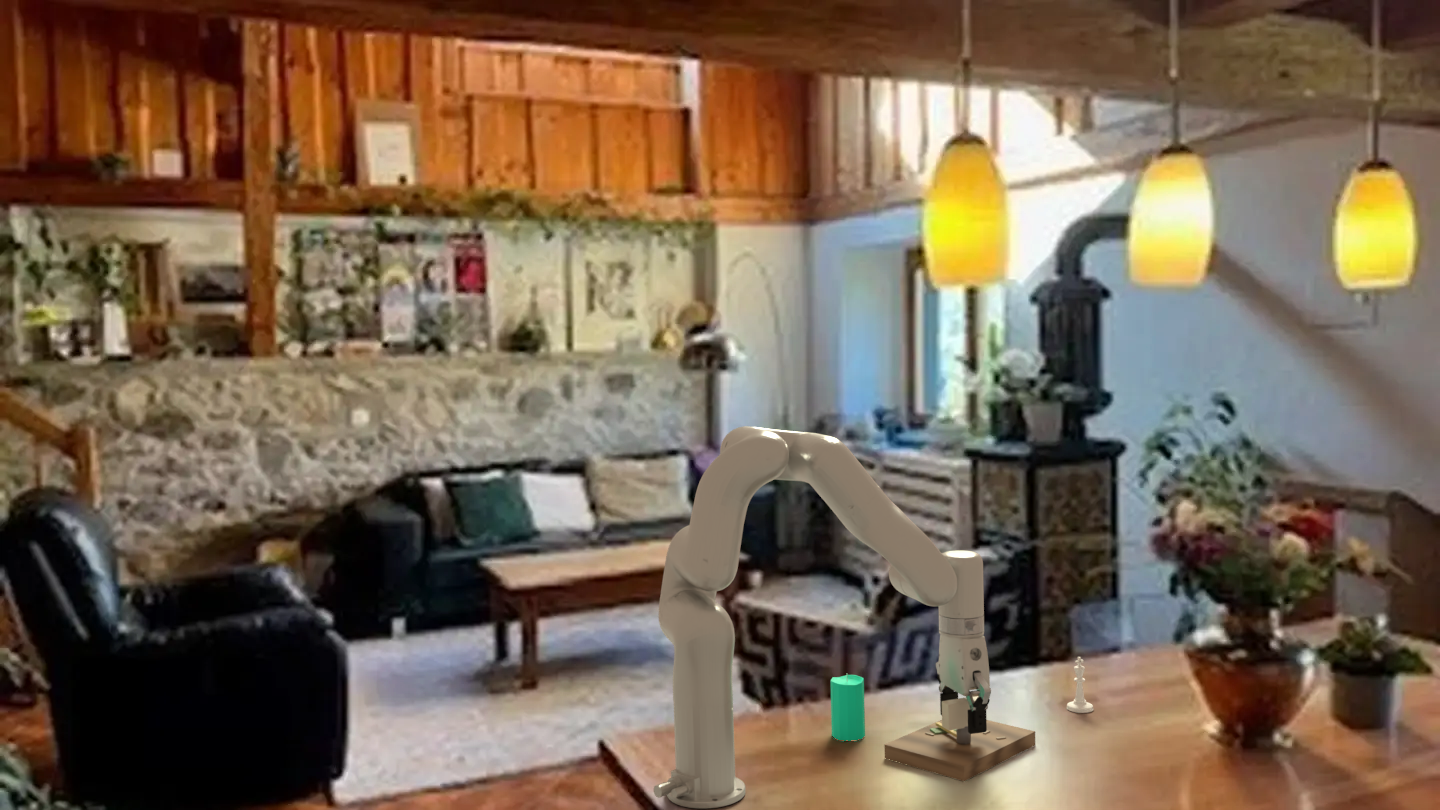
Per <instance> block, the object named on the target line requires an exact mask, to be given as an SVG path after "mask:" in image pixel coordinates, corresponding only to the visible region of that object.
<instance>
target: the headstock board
mask: <svg viewBox="0 0 1440 810" xmlns="http://www.w3.org/2000/svg"><path fill="white" fill-rule="evenodd" d="M936 722H940V723H942V719H939V720H938V721H935V722H934V723H933V722H932V723H931V724H929V725H927V726H924V727H922V728H920V729H917V730H915V731H913V732H910V733H908V734H906V735H903V736H901V737H898V738H896V739H893V740H892V741H890V742H887V743H885V744H884V746H883V747H884V759H885V758H886V759H885V760H887V759H890V760H889V761H891V760H893V761H892V762H894V761H897V762H896V763H898V762H900V763H899V764H901V763H902V765H905V764H907V765H906V766H908V765H909V766H908V767H912V768H916V769H920V770H923V771H925V772H930V773H933V774H936V775H937V774H938V775H940V776H944V777H948V778H951V779H955V780H958V781H962V782H965V781H967V780H969V779H972V778H973V777H976V776H978V775H980V774H982V773H984V772H985V771H988V770H989V769H991V768H994V767H996V766H998V765H1000V764H1001V763H1003V762H1005V761H1007V760H1009V759H1011V758H1014V757H1016V756H1017V755H1019V754H1021V753H1023V752H1026V751H1027V750H1029V749H1031V748H1034V747H1035V746H1036V731H1035V730H1030V729H1027V728H1024V727H1023V728H1022V727H1019V726H1013V725H1011V724H1010V725H1009V724H1006V723H1002V722H1001V723H1000V722H998V721H993V720H988V719H987V730H986V732H982V733H975V734H971V743H969V744H959V743H957V737H955V736H953V735H951V734H950V733H948V732H946V731H945V730H943V729H941V728H939V727H938V726H936ZM954 731H956V729H955V730H954Z"/></svg>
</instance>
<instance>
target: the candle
mask: <svg viewBox="0 0 1440 810" xmlns="http://www.w3.org/2000/svg"><path fill="white" fill-rule="evenodd" d="M830 712H831V713H830V716H831V718H830V719H831V722H830V723H831V737H832V736H833V737H834V738H836V739H838V740H844V741H846V740H848V741H851V740H858V739H862V738H863V737H864V736H865V737H866V723H865V722H866V719H865V715H866V713H865V679H864V677H862V676H859V675H857V674H846V675H842V676H837V677H835V676H834V677H833V676H832V678H831V679H830ZM833 737H832V738H833ZM865 737H864V738H865ZM834 738H833V739H834ZM838 740H837V741H838ZM862 740H863V739H862ZM844 741H843V742H844Z"/></svg>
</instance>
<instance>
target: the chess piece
mask: <svg viewBox="0 0 1440 810" xmlns="http://www.w3.org/2000/svg"><path fill="white" fill-rule="evenodd" d="M1084 661H1085V660H1084V659H1082V656H1077V660H1074V663H1075V664H1077V665H1075V666H1073V669H1074V672H1075V673H1074V674H1075V676H1076V677H1074V678H1073V681H1074V682H1076V690H1075V697H1074V699H1073V701H1069V702H1067V704H1066V710H1067V711H1069V712H1072V713H1078V714H1088V713H1091V712H1093V711H1094V705H1093V704H1092V703H1090V702H1088V701H1087V700H1086V699H1085V695H1084V687H1083V683H1084V682H1086V679H1085V678H1084V677H1083V676H1084V673H1085V670H1086V667H1085V666H1083V665H1082V664H1083V663H1084Z"/></svg>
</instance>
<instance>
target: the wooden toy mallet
mask: <svg viewBox="0 0 1440 810" xmlns="http://www.w3.org/2000/svg"><path fill="white" fill-rule="evenodd" d="M977 698H978V696H975V697H973V700H974V702H975V701H976V699H977ZM969 709H970V707H969V704H968V701H967V698H966V697H961V698H959V697H958V699H953V700H946V701H942V715H941V720H942V723H940V722H938V721H935V722H936V726H938V727H939V728H941V729H943V730H945V731H946V732H948V733H950V734H951V735H953V736H955V737H957V743H959V744H969V743H971V734H970V733H969V732H968V710H969ZM955 729H956V731H954V730H955Z"/></svg>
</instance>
